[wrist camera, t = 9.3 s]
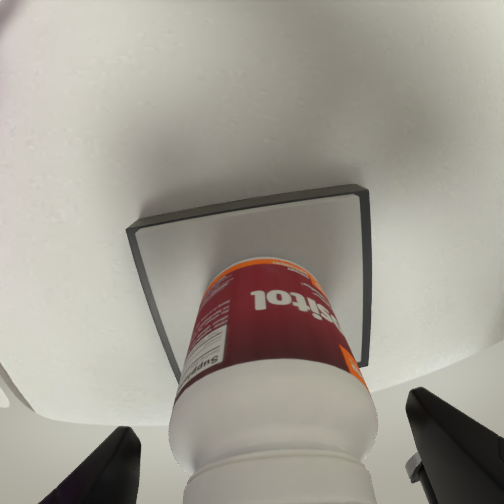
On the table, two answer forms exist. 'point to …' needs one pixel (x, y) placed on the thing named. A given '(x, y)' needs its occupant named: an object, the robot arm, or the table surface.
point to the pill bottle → (271, 395)
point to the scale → (258, 245)
